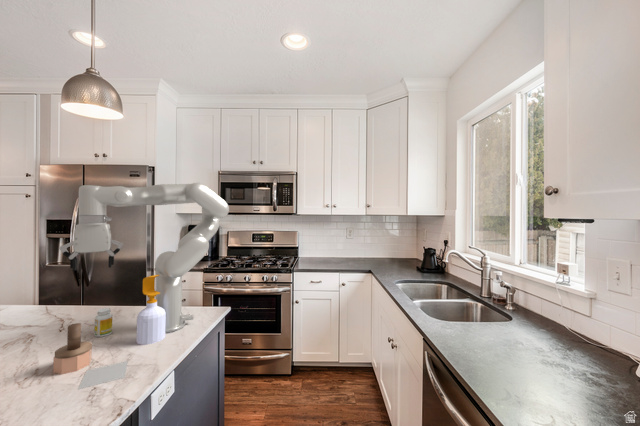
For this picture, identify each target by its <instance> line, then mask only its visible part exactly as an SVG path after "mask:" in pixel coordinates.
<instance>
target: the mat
mask: <svg viewBox="0 0 640 426" xmlns="http://www.w3.org/2000/svg"><path fill="white" fill-rule="evenodd" d="M128 362H129V360H125V361H121V362H117V363H113V364H112V363H111V364H109V365H105V366H104V365H103V366H98V367H94V368H90V369H87V370H86V371H85V373H84V375H83V378H82V380H81V382H80V384H79V386H78V388H77V390H81V389H85V388H90V387H93V386H98V385H100V384H105V383H109V382H113V381H117V380H121V379H125V377H126V372H127V366H128Z"/></svg>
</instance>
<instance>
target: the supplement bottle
mask: <svg viewBox="0 0 640 426" xmlns="http://www.w3.org/2000/svg"><path fill="white" fill-rule="evenodd" d="M111 311H112V310H111V308H110V307H105V308H100V309H98V310H97V311H96V312H97V313H96V314H97V315H96V316H95V318H94V333H93V335H94V337H96V338H103V337H106V336H109V335H111V334H112V332H113V314H112V313H111Z"/></svg>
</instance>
